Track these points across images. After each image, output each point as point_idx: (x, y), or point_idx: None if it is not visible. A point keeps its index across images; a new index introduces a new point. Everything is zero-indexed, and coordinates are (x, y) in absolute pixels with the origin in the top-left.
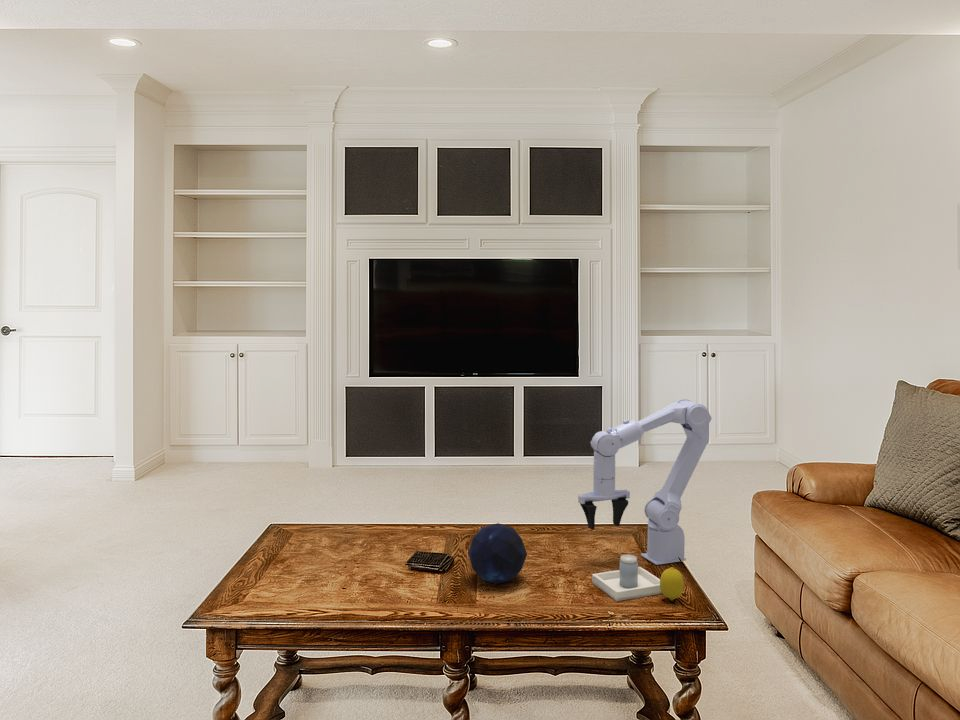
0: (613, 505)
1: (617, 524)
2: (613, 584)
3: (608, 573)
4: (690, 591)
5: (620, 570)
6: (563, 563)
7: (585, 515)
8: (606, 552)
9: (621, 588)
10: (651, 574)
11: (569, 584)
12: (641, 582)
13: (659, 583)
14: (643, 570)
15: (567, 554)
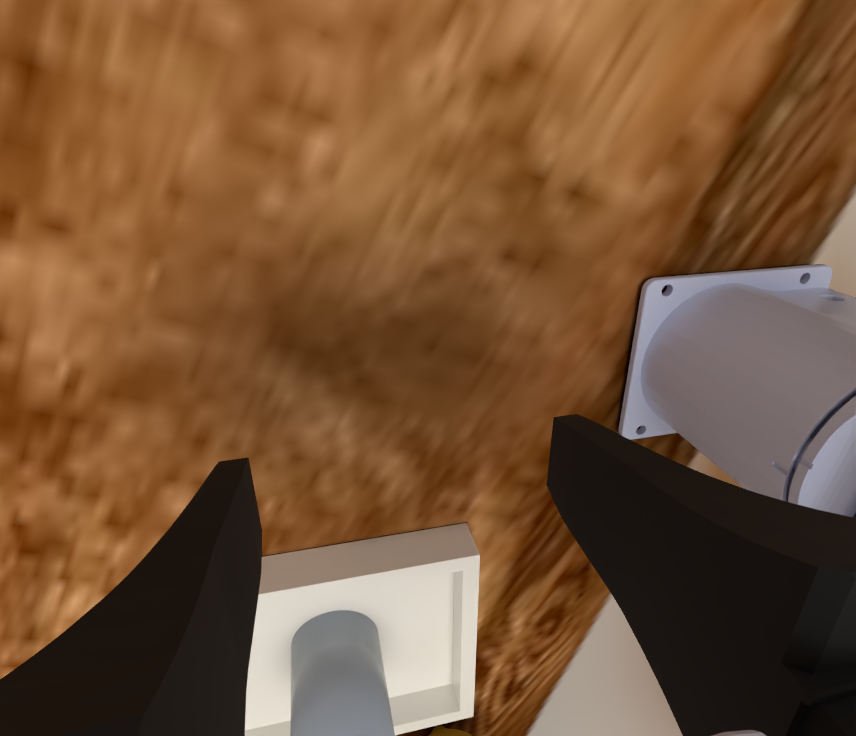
0: (707, 557)
1: (555, 503)
2: (264, 632)
3: (263, 605)
4: (550, 672)
5: (290, 726)
6: (46, 253)
7: (141, 566)
8: (481, 136)
9: (283, 669)
10: (472, 636)
11: (14, 577)
12: (408, 624)
13: (456, 686)
14: (465, 596)
15: (137, 54)
